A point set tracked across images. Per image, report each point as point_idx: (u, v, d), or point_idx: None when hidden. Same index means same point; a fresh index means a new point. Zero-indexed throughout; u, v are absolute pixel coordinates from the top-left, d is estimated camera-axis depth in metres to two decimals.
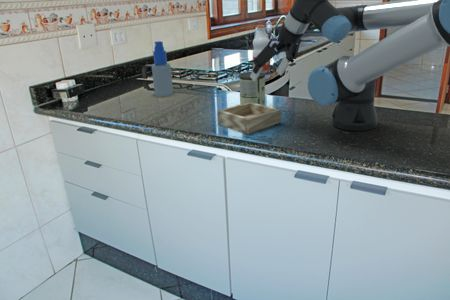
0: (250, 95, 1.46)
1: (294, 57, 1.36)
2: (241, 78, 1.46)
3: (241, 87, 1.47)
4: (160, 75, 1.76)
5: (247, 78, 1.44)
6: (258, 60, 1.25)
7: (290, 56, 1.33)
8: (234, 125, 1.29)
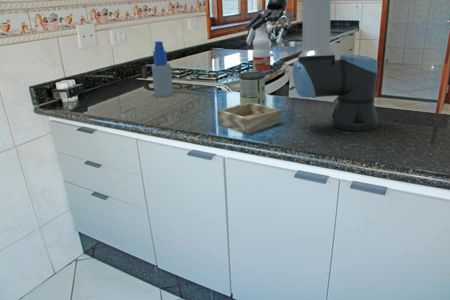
0: (250, 95, 1.46)
1: (288, 25, 1.50)
2: (241, 78, 1.46)
3: (241, 87, 1.47)
4: (160, 75, 1.76)
5: (247, 78, 1.44)
6: None
7: (282, 23, 1.51)
8: (234, 125, 1.29)
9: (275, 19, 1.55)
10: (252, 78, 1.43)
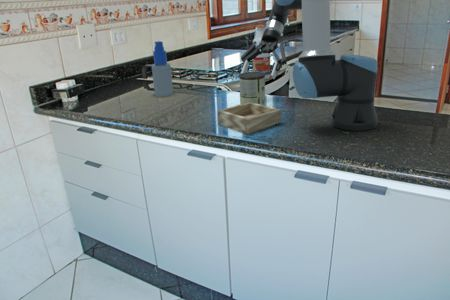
0: (250, 95, 1.46)
1: (282, 58, 1.51)
2: (241, 78, 1.46)
3: (241, 87, 1.47)
4: (160, 75, 1.76)
5: (247, 78, 1.44)
6: None
7: (276, 56, 1.53)
8: (234, 125, 1.29)
9: (269, 51, 1.56)
10: (252, 78, 1.43)
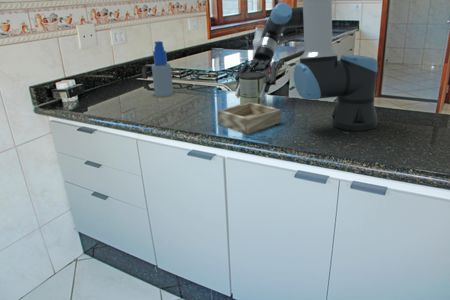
0: (250, 95, 1.46)
1: (271, 79, 1.46)
2: (241, 78, 1.45)
3: (241, 87, 1.47)
4: (160, 75, 1.76)
5: (247, 78, 1.44)
6: None
7: (266, 76, 1.48)
8: (234, 125, 1.29)
9: (262, 69, 1.51)
10: (252, 78, 1.43)
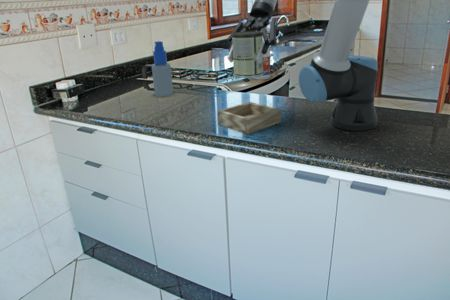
0: (245, 56, 1.22)
1: (270, 38, 1.23)
2: (234, 36, 1.22)
3: (234, 48, 1.24)
4: (160, 75, 1.76)
5: (241, 36, 1.20)
6: None
7: (263, 35, 1.24)
8: (234, 125, 1.29)
9: (259, 28, 1.28)
10: (247, 35, 1.19)
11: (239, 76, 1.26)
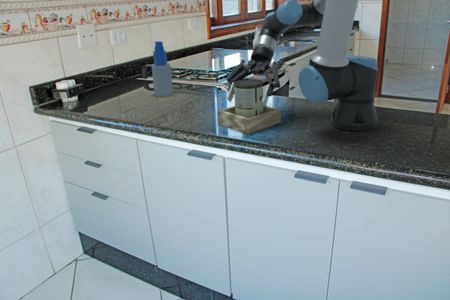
0: (247, 106, 1.28)
1: None
2: (236, 87, 1.28)
3: (236, 97, 1.29)
4: (160, 75, 1.76)
5: (243, 87, 1.26)
6: None
7: (267, 78, 1.29)
8: (234, 125, 1.29)
9: (260, 72, 1.33)
10: (248, 87, 1.25)
11: None
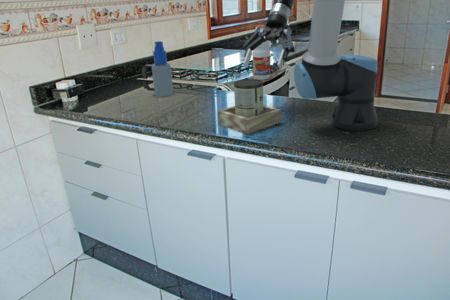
0: (247, 106, 1.28)
1: (289, 45, 1.34)
2: (236, 86, 1.28)
3: (236, 97, 1.29)
4: (160, 75, 1.76)
5: (243, 87, 1.26)
6: None
7: (282, 43, 1.36)
8: (234, 125, 1.29)
9: (275, 38, 1.39)
10: (249, 87, 1.25)
11: None
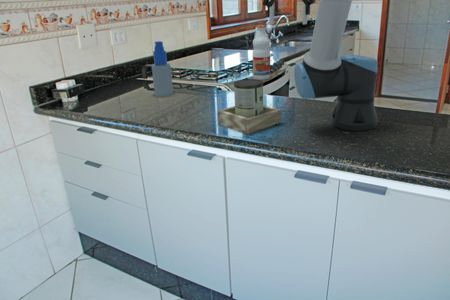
0: (247, 106, 1.28)
1: (309, 0, 1.38)
2: (236, 87, 1.28)
3: (236, 97, 1.29)
4: (160, 75, 1.76)
5: (243, 87, 1.26)
6: None
7: None
8: (234, 125, 1.29)
9: None
10: (249, 87, 1.25)
11: None
